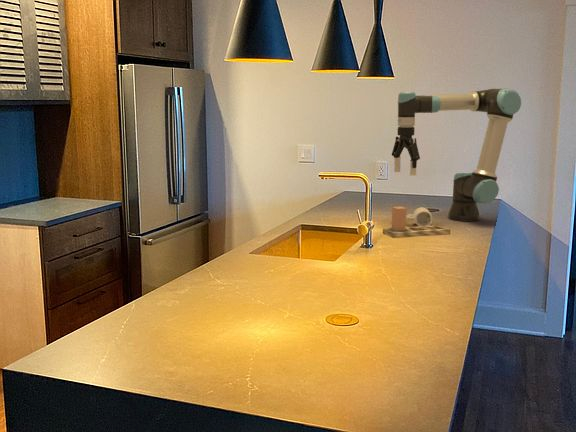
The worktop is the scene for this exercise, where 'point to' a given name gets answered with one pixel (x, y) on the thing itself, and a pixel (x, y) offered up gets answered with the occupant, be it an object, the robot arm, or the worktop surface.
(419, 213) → the mug
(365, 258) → the worktop surface
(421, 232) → the compartment tray
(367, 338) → the worktop surface
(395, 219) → the peg block
